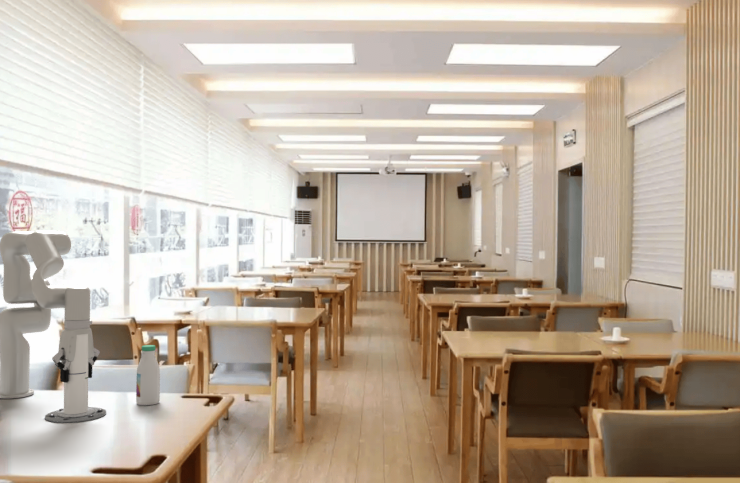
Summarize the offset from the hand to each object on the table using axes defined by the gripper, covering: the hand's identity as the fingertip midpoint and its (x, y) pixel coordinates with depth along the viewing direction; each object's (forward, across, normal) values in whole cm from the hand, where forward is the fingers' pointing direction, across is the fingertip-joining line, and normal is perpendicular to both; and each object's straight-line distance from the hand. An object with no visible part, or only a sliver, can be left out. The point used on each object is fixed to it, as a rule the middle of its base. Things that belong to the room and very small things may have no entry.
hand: (76, 379), depth 217 cm
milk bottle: (+12, -24, +6) cm, 27 cm away
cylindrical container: (+11, 0, 0) cm, 11 cm away
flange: (+12, 0, 0) cm, 12 cm away
